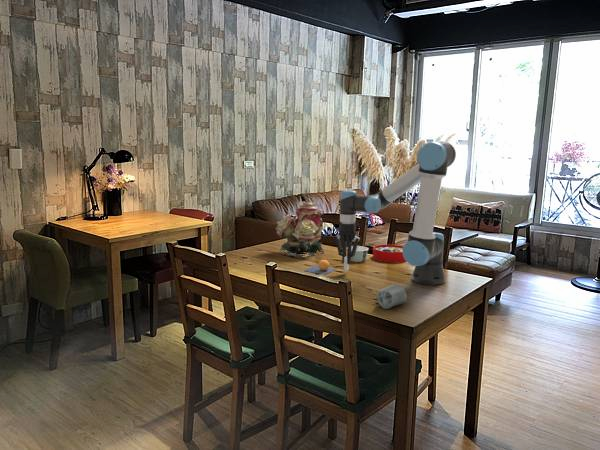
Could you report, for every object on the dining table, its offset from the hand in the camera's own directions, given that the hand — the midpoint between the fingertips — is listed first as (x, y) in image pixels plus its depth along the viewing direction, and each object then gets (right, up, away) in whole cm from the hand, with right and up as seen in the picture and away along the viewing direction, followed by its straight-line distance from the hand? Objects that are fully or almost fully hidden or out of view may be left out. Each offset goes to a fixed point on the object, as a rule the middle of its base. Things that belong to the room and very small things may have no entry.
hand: (346, 270), depth 248 cm
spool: (+14, -10, -46) cm, 49 cm away
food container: (+9, +3, +29) cm, 31 cm away
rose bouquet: (-21, +6, +44) cm, 49 cm away
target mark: (-12, -1, +7) cm, 14 cm away
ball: (-11, +2, +5) cm, 12 cm away
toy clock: (+28, +3, +34) cm, 44 cm away
